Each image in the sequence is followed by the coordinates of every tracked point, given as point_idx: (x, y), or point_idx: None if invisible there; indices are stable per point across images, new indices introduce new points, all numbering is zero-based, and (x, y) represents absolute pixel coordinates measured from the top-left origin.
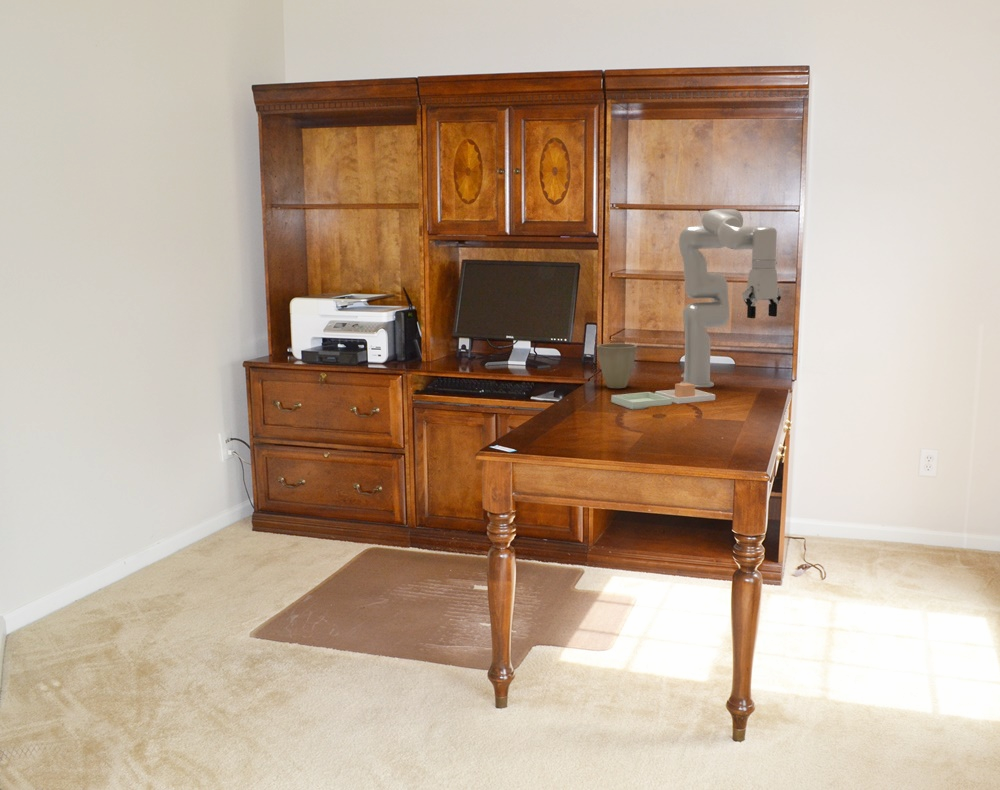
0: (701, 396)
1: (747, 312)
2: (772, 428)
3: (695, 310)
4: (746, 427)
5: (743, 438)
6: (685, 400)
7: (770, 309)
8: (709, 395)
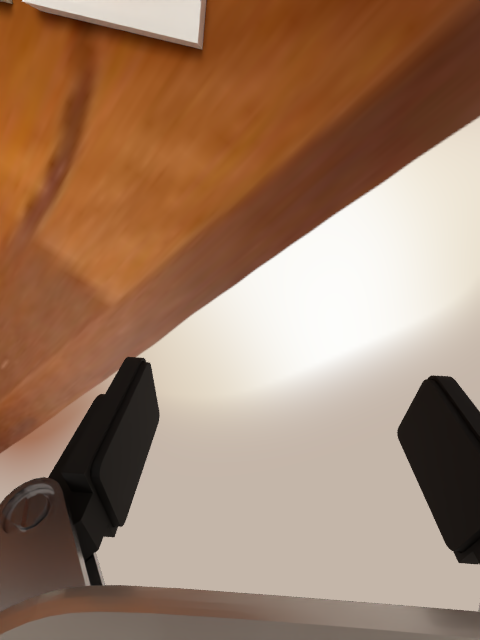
0: (134, 28)
1: (86, 413)
2: None
3: None
4: (82, 340)
5: (36, 381)
6: (64, 14)
7: (453, 452)
8: (170, 37)
